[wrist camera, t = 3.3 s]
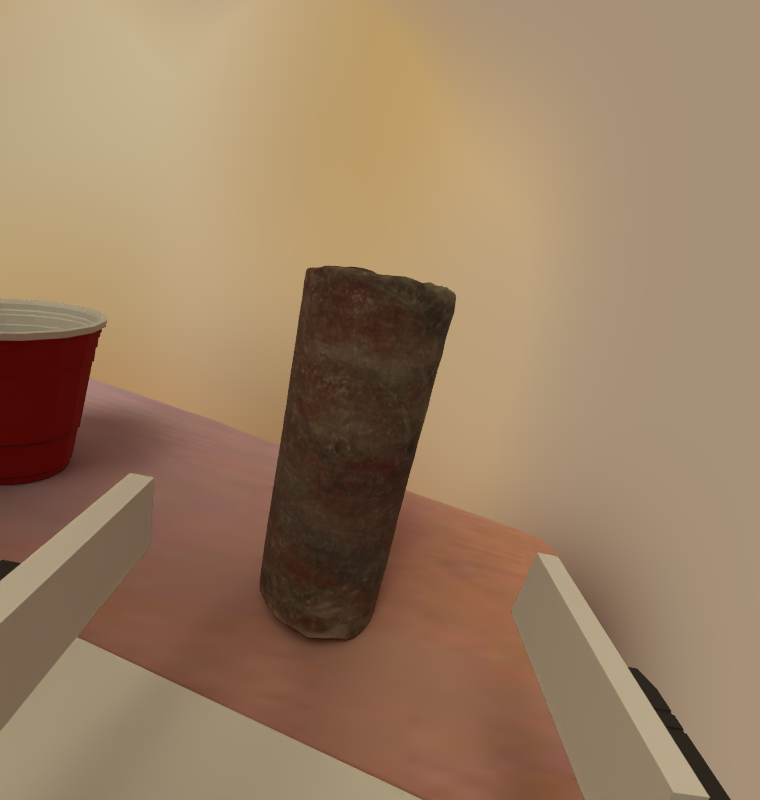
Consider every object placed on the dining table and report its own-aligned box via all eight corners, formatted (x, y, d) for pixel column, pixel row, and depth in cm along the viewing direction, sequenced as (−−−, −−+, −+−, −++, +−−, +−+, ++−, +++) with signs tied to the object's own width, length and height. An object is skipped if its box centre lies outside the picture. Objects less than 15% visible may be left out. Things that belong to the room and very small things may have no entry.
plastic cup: (-45, 430, 32) (-62, 280, 28) (114, 434, 37) (118, 307, 33) (-138, 513, 23) (-180, 307, 19) (90, 503, 28) (91, 339, 24)
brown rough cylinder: (242, 647, 21) (306, 252, 14) (261, 549, 27) (310, 251, 21) (381, 652, 22) (495, 298, 16) (367, 558, 29) (442, 283, 23)
